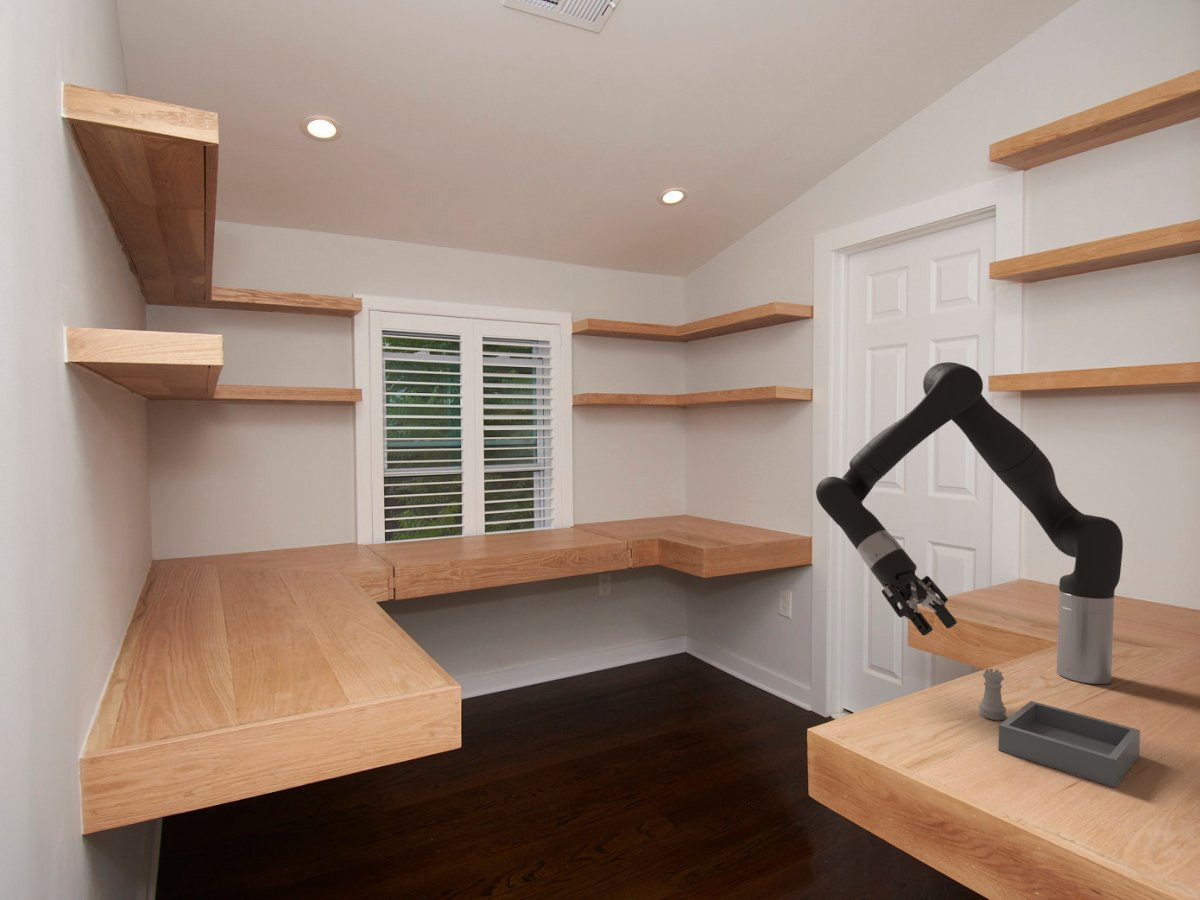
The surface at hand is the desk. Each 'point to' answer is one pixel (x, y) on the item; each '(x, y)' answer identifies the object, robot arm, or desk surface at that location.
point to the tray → (1070, 742)
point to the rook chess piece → (992, 696)
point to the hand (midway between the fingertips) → (940, 629)
